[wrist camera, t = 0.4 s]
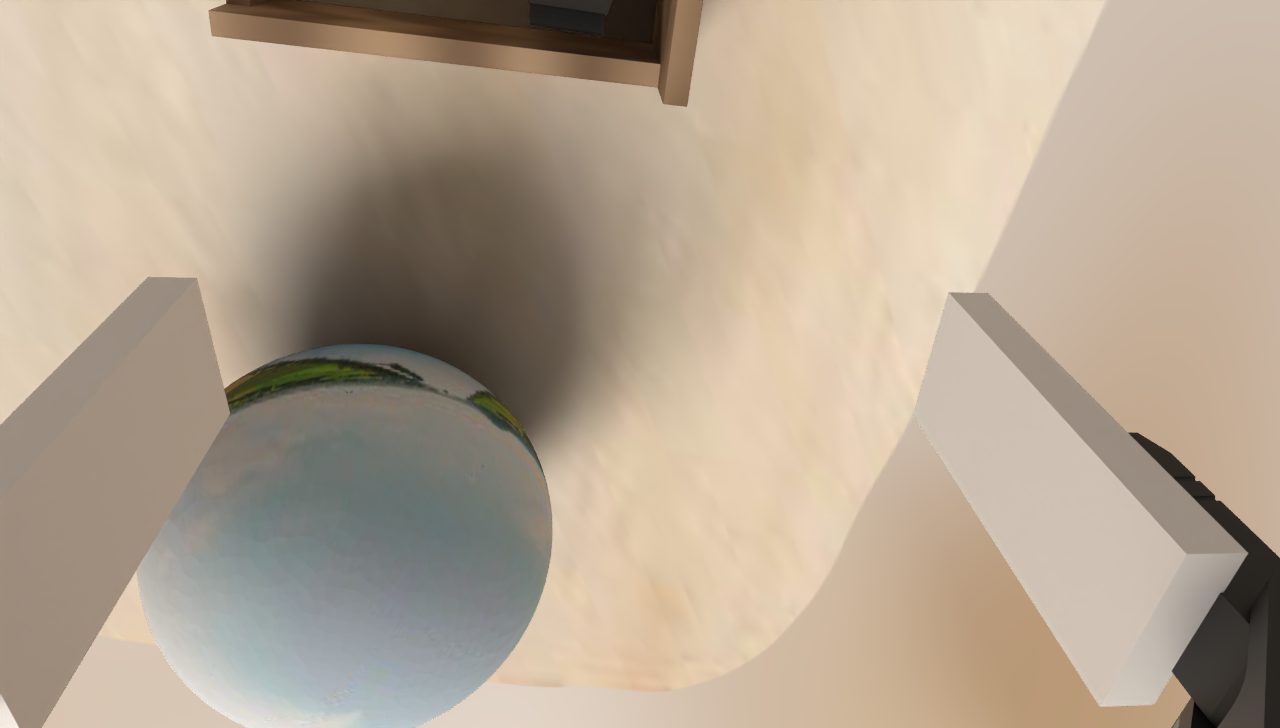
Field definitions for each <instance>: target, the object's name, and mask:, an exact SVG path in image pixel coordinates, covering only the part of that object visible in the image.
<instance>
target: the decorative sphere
mask: <svg viewBox="0 0 1280 728" xmlns="http://www.w3.org/2000/svg"><path fill="white" fill-rule="evenodd" d="M224 390H225V395H226V399H227V403H228V407H229V411H230V415H229V417H228V418H227V420H226V422H225V423H224V425H223V427H222V428H221V430H220V431H219V433H218V435H217V436H216V438H215V440H214V441H213V443H212V445H211V446H210V448H209V450H208V451H207V453H206V455H205V456H204V458H203V460H202V461H201V463H200V465H199V466H198V468H197V470H196V471H195V473H194V475H193V476H192V478H191V480H190V481H189V483H188V485H187V486H186V488H185V490H184V491H183V493H182V495H181V496H180V498H179V500H178V501H177V503H176V505H175V506H174V508H173V510H172V511H171V513H170V515H169V516H168V518H167V520H166V521H165V523H164V525H163V526H162V528H161V530H160V531H159V533H158V535H157V536H156V538H155V540H154V541H153V543H152V545H151V546H150V548H149V550H148V551H147V553H146V555H145V556H144V558H143V560H142V561H141V563H140V565H139V566H138V568H137V579H138V586H139V593H140V598H141V602H142V607H143V610H144V614H145V617H146V619H147V622H148V625H149V627H150V630H151V633H152V635H153V637H154V639H155V641H156V643H157V645H158V647H159V648H160V650H161V652H162V653H163V655H164V657H165V658H166V660H167V662H168V663H169V665H170V666H171V667H172V669H173V670H174V671H175V673H176V674H177V675H178V676H179V678H180V679H181V680H182V681H183V682H184V683H185V684H186V686H187V687H188V688H190V689H191V690H192V691H193V692H194V693H195V694H196V695H197V696H198V697H199V698H200V699H202V700H203V701H204V702H205V703H206V704H208V705H209V706H211V707H212V708H213V709H215V710H216V711H218V712H219V713H221V714H223V715H224V716H226V717H227V718H229V719H231V720H233V721H234V722H236V723H238V724H240V725H243V726H245V727H247V728H415V727H417V726H420V725H422V724H424V723H426V722H428V721H430V720H432V719H434V718H436V717H438V716H439V715H441V714H443V713H445V712H446V711H448V710H450V709H451V708H453V707H454V706H455V705H457V704H458V703H460V702H461V701H463V700H464V699H465V698H467V697H468V696H469V695H470V694H472V693H473V692H474V691H475V690H476V689H478V687H480V686H481V685H482V684H483V683H484V682H485V681H486V680H487V679H488V678H489V677H490V676H491V675H492V674H493V673H494V672H495V671H496V670H497V669H498V668H499V667H500V666H501V664H502V663H503V662H504V661H505V660H506V658H507V657H508V656H509V654H510V653H511V652H512V650H513V649H514V648H515V646H516V645H517V643H518V642H519V640H520V638H521V637H522V635H523V633H524V632H525V630H526V628H527V627H528V625H529V623H530V621H531V619H532V617H533V615H534V612H535V610H536V608H537V605H538V603H539V600H540V597H541V594H542V592H543V588H544V585H545V582H546V577H547V573H548V568H549V563H550V557H551V548H552V511H551V504H550V497H549V492H548V487H547V483H546V480H545V476H544V473H543V470H542V467H541V464H540V462H539V459H538V457H537V454H536V452H535V450H534V448H533V446H532V444H531V442H530V440H529V439H528V437H527V435H526V433H525V432H524V430H523V429H522V427H521V426H520V424H519V423H518V422H517V420H516V419H515V417H514V416H513V415H512V414H511V412H510V411H509V410H508V409H507V408H506V407H505V406H504V404H503V403H502V402H501V401H500V400H499V399H498V398H497V397H496V396H495V395H493V394H492V393H491V392H490V391H489V390H488V389H487V388H485V387H484V386H483V385H482V384H480V383H479V382H478V381H476V380H475V379H473V378H472V377H471V376H469V375H467V374H466V373H464V372H463V371H461V370H459V369H457V368H456V367H454V366H452V365H450V364H448V363H446V362H443V361H441V360H439V359H437V358H434V357H431V356H429V355H426V354H422V353H419V352H416V351H412V350H408V349H404V348H399V347H394V346H387V345H379V344H340V345H330V346H324V347H318V348H313V349H309V350H305V351H301V352H298V353H295V354H291V355H288V356H285V357H283V358H280V359H277V360H275V361H272V362H270V363H268V364H265V365H263V366H261V367H259V368H257V369H255V370H254V371H252V372H250V373H248V374H246V375H245V376H243V377H241V378H240V379H238V380H237V381H235V382H233V383H232V384H230V385H229V386H228V387H226V388H225V389H224Z"/></svg>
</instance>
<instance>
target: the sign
mask: <svg viewBox="0 0 1280 728" xmlns="http://www.w3.org/2000/svg"><path fill="white" fill-rule="evenodd" d="M612 1H613V0H528V2H529V3H530V25H535V26H542V27H549V28H555V29H562V30H569V31H576V32H582V33H589V34H596V35H603V29H604V22H605V14H608V12H609V9H610V6H611V3H612Z"/></svg>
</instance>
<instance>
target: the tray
mask: <svg viewBox="0 0 1280 728" xmlns="http://www.w3.org/2000/svg"><path fill="white" fill-rule="evenodd" d="M702 4H703V0H657V8H656V16H655V24H654V32H653V40H652V43H644V42H635V41H627V40H619V39H611V38H603V37H594V36H586V35H578V34H570V33H562V32H553V31H545V30H537V29H529V28H520V27H512V26H504V25H496V24H488V23H479V22H471V21H463V20H455V19H447V18H438V17H430V16H422V15H414V14H406V13H397V12H389V11H381V10H373V9H365V8H356V7H348V6H340V5H332V4H323V3H315V2H307V1H299V0H226V4H224V5H222V6H219V7H216V8H214V9H211V10H209V18H210V25H211V32H212V36H216V37H225V38H233V39H242V40H251V41H259V42H268V43H277V44H285V45H294V46H303V47H311V48H320V49H329V50H337V51H346V52H355V53H363V54H372V55H381V56H389V57H398V58H407V59H415V60H424V61H433V62H441V63H450V64H459V65H467V66H476V67H485V68H493V69H502V70H511V71H519V72H528V73H537V74H545V75H554V76H563V77H571V78H580V79H589V80H597V81H606V82H615V83H623V84H632V85H641V86H649V87H658V90H659V93H660V96H661V99H662V102H663V104H668V105H677V106H686V107H687V103H688V96H689V90H690V83H691V77H692V70H693V63H694V57H695V50H696V44H697V37H698V30H699V24H700V17H701V11H702Z"/></svg>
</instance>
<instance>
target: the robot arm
mask: <svg viewBox="0 0 1280 728" xmlns="http://www.w3.org/2000/svg"><path fill="white" fill-rule="evenodd" d="M229 415H230V411H229V407H228V403H227V399H226V395H225V390H224V386H223V382H222V378H221V374H220V370H219V366H218V362H217V358H216V354H215V350H214V346H213V342H212V338H211V334H210V330H209V326H208V322H207V317H206V313H205V309H204V305H203V301H202V297H201V293H200V289H199V285H198V281H197V278H167V277H148V278H147V279H146V280H145V281H144V282H143V283H142V284H141V285H140V286H139V287H138V288H137V289H136V290H135V291H134V292H133V293H132V294H131V295H130V296H129V297H128V298H127V299H126V300H125V301H124V302H123V303H122V304H121V305H120V306H119V307H118V308H117V309H116V310H115V311H114V312H113V313H112V314H111V315H110V316H109V317H108V318H107V319H106V320H105V321H104V322H103V323H102V324H101V325H100V326H99V327H98V328H97V329H96V330H95V331H94V332H93V333H92V334H91V335H90V336H89V337H88V338H87V339H86V340H85V341H84V342H83V343H82V344H81V345H80V346H79V347H78V348H77V349H76V350H75V351H74V352H73V353H72V354H71V355H70V356H69V357H68V358H67V359H66V360H65V361H64V362H63V363H62V364H61V365H60V366H59V367H58V368H57V369H56V370H55V371H54V372H53V373H52V374H51V375H50V376H49V377H48V378H47V379H46V380H45V381H44V382H43V383H42V384H41V385H40V386H39V387H38V388H37V389H36V390H35V391H34V392H33V393H32V394H31V395H30V396H29V397H28V398H27V399H26V400H25V401H24V402H23V403H22V404H21V405H20V406H19V407H18V408H17V409H16V410H15V411H14V412H13V413H12V414H11V415H10V416H9V417H8V418H7V419H6V420H5V421H4V422H3V423H2V424H1V425H0V728H42V726H43V724H44V723H45V721H46V720H47V718H48V716H49V715H50V713H51V711H52V710H53V708H54V706H55V704H56V703H57V701H58V700H59V698H60V696H61V695H62V693H63V691H64V690H65V688H66V686H67V685H68V683H69V681H70V680H71V678H72V676H73V675H74V673H75V671H76V670H77V668H78V666H79V665H80V663H81V661H82V660H83V658H84V656H85V655H86V653H87V651H88V650H89V648H90V646H91V645H92V643H93V641H94V640H95V638H96V636H97V635H98V633H99V631H100V630H101V628H102V626H103V625H104V623H105V621H106V620H107V618H108V616H109V615H110V613H111V611H112V610H113V608H114V606H115V605H116V603H117V601H118V600H119V598H120V596H121V595H122V593H123V591H124V590H125V588H126V586H127V585H128V583H129V581H130V580H131V578H132V576H133V575H134V573H135V571H136V570H137V568H138V566H139V565H140V563H141V561H142V560H143V558H144V556H145V555H146V553H147V551H148V550H149V548H150V546H151V545H152V543H153V541H154V540H155V538H156V536H157V535H158V533H159V531H160V530H161V528H162V526H163V525H164V523H165V521H166V520H167V518H168V516H169V515H170V513H171V511H172V510H173V508H174V506H175V505H176V503H177V501H178V500H179V498H180V496H181V495H182V493H183V491H184V490H185V488H186V486H187V485H188V483H189V481H190V480H191V478H192V476H193V475H194V473H195V471H196V470H197V468H198V466H199V465H200V463H201V461H202V460H203V458H204V456H205V455H206V453H207V451H208V450H209V448H210V446H211V445H212V443H213V441H214V440H215V438H216V436H217V435H218V433H219V431H220V430H221V428H222V427H223V425H224V423H225V422H226V420H227V418H228V417H229ZM913 416H914V418H915V419H916V421H917V423H918V424H919V426H920V427H921V429H922V430H923V432H924V433H925V435H926V437H927V438H928V440H929V441H930V443H931V444H932V446H933V448H934V449H935V451H936V452H937V454H938V455H939V457H940V459H941V460H942V462H943V463H944V465H945V466H946V468H947V469H948V471H949V473H950V474H951V476H952V477H953V479H954V480H955V482H956V483H957V485H958V486H959V488H960V490H961V491H962V493H963V494H964V496H965V497H966V499H967V501H968V502H969V504H970V505H971V507H972V508H973V510H974V511H975V513H976V515H977V516H978V518H979V519H980V521H981V522H982V524H983V525H984V527H985V529H986V530H987V532H988V533H989V535H990V536H991V538H992V540H993V541H994V543H995V544H996V546H997V547H998V549H999V550H1000V552H1001V554H1002V555H1003V557H1004V558H1005V560H1006V561H1007V563H1008V564H1009V566H1010V568H1011V569H1012V571H1013V572H1014V574H1015V575H1016V577H1017V578H1018V580H1019V582H1020V583H1021V585H1022V586H1023V587H1024V589H1025V591H1026V593H1027V594H1028V595H1029V597H1030V599H1031V600H1032V602H1033V603H1034V605H1035V607H1036V608H1037V610H1038V611H1039V613H1040V614H1041V616H1042V617H1043V619H1044V621H1045V622H1046V624H1047V625H1048V627H1049V628H1050V630H1051V631H1052V633H1053V635H1054V636H1055V638H1056V639H1057V641H1058V642H1059V644H1060V646H1061V647H1062V649H1063V650H1064V652H1065V653H1066V655H1067V656H1068V658H1069V659H1070V661H1071V662H1072V664H1073V666H1074V667H1075V669H1076V670H1077V672H1078V674H1079V675H1080V677H1081V678H1082V680H1083V681H1084V683H1085V684H1086V686H1087V688H1088V689H1089V691H1090V692H1091V694H1092V695H1093V697H1094V698H1095V700H1096V701H1097V703H1098V704H1099V706H1100V707H1103V706H1131V705H1153V704H1154V703H1155V702H1156V700H1157V698H1158V697H1159V695H1160V694H1161V692H1162V690H1163V689H1164V687H1165V686H1166V684H1167V683H1168V681H1169V679H1170V678H1171V676H1172V674H1174V675H1175V676H1176V678H1177V679H1178V680H1179V682H1180V683H1181V684H1182V686H1183V687H1184V688H1185V689H1186V691H1187V692H1188V693H1189V695H1190V696H1191V699H1190V700H1189V702H1188V703H1187V705H1186V707H1185V708H1184V710H1183V711H1182V712H1181V714H1180V716H1179V717H1178V719H1177V720H1176V722H1175V723H1174V725H1173V726H1172V728H1280V558H1279V557H1278V556H1277V555H1276V554H1275V553H1274V552H1273V551H1272V550H1271V549H1270V548H1269V547H1268V546H1267V545H1266V544H1265V543H1264V542H1263V541H1262V540H1261V539H1260V538H1259V537H1257V536H1256V535H1255V534H1254V533H1253V532H1252V531H1251V530H1250V529H1249V528H1248V527H1247V526H1246V525H1245V524H1244V523H1243V522H1242V521H1241V520H1240V519H1239V518H1238V517H1237V516H1235V514H1234V513H1233V512H1231V510H1229V509H1228V508H1227V507H1226V506H1225V505H1224V504H1223V503H1222V502H1221V501H1216V500H1215V495H1214V494H1213V493H1212V492H1211V491H1210V490H1208V488H1207V487H1206V486H1205V485H1203V484H1202V483H1201V482H1200V481H1195V476H1194V475H1193V474H1192V473H1191V472H1190V471H1189V470H1188V469H1187V468H1186V467H1185V466H1184V465H1183V464H1182V463H1181V462H1180V461H1179V460H1177V459H1176V458H1175V457H1174V456H1173V455H1172V454H1171V453H1170V452H1168V451H1167V450H1165V449H1163V448H1162V447H1160V446H1158V445H1157V444H1155V443H1153V442H1152V441H1150V440H1149V439H1147V438H1145V437H1144V436H1142V435H1140V434H1139V433H1128V432H1127V431H1125V429H1124V428H1123V427H1122V426H1121V425H1119V423H1118V422H1117V421H1115V420H1114V418H1113V417H1112V416H1111V415H1109V413H1108V412H1106V410H1105V409H1104V408H1102V407H1101V405H1100V404H1098V402H1096V401H1095V399H1094V398H1092V397H1091V395H1089V393H1087V391H1086V390H1085V389H1083V388H1082V386H1080V384H1079V383H1077V382H1076V381H1075V379H1074V378H1073V377H1071V375H1069V373H1068V372H1067V371H1065V369H1064V368H1063V367H1062V366H1060V365H1059V364H1058V363H1057V362H1056V361H1055V360H1054V359H1053V358H1052V357H1051V356H1050V354H1048V353H1047V352H1046V351H1045V350H1044V349H1043V348H1042V347H1041V346H1040V345H1039V344H1038V343H1037V342H1036V341H1035V340H1034V339H1033V338H1032V337H1031V336H1030V335H1029V334H1028V333H1027V332H1026V331H1025V330H1024V329H1023V328H1022V327H1021V326H1020V325H1019V324H1018V323H1017V322H1016V321H1015V320H1014V319H1013V318H1012V317H1011V316H1010V315H1009V314H1008V313H1007V312H1006V311H1005V310H1004V309H1003V308H1002V307H1001V306H1000V305H999V304H998V303H997V302H996V301H995V300H994V299H993V298H992V297H991V296H990V295H989V294H988V293H950V292H949V293H948V296H947V300H946V303H945V307H944V310H943V313H942V317H941V320H940V324H939V327H938V331H937V334H936V337H935V341H934V344H933V348H932V351H931V355H930V358H929V361H928V365H927V368H926V372H925V375H924V379H923V382H922V385H921V389H920V392H919V396H918V399H917V403H916V406H915V409H914V413H913Z"/></svg>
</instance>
